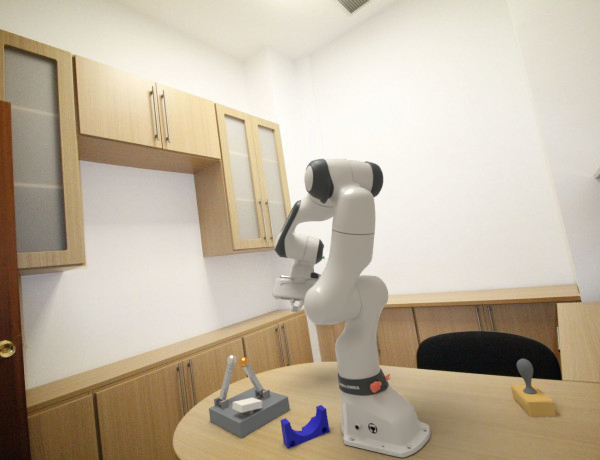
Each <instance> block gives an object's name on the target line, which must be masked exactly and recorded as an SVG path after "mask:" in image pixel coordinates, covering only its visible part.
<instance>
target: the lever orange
mask: <svg viewBox="0 0 600 460" xmlns="http://www.w3.org/2000/svg"><path fill="white" fill-rule="evenodd" d="M238 365H239V366H240V367H242V369H243V370H244V372H245V373H246V375H247V377H248V378H249V380H250V382H251V383H252V386H253V387H255V388H256V390H257V392H258V395H260V396H263V393H262V392H264V387H263V385H262V384H261V382H260V380H259V379H258V377H257V376H256V373H255V372H254V370H253V369H252V367H251V365H250V364H249V359H248V358H247V357H245V356H243V357H241V358H239V360H238Z"/></svg>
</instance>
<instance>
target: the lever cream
mask: <svg viewBox="0 0 600 460" xmlns="http://www.w3.org/2000/svg"><path fill="white" fill-rule="evenodd" d="M226 362H227V364H226V368H225V372H224V376H223V380H222V384H221V388H220V392H219V396H218V397H219V399H218V400H217V404H218V405H220V406H221V402H222V401H224V400H226V399H227V397H228V393H229V389H230V383H231V379H232V375H233V371H234V366H235V363H236V362H237V357H236V356H235V355H234V354H230V355H228V357H227V360H226Z"/></svg>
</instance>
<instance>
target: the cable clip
mask: <svg viewBox="0 0 600 460" xmlns="http://www.w3.org/2000/svg"><path fill="white" fill-rule="evenodd" d="M315 407H316V408H315V409H316V411H315V415H314V416H311V418H310V420H309V421H308V422H307V423H306V424H305V425H303V426H302V427H301V430H296V429H294V428H293V427H292V425H291V422H290V421H289V420H288V419H287V418H286V417H285V418H282V419H280V427H281V433H282V441H283V445H284V446H285V447H286V448H287V449H288V450H290V449H291V448H294V447H296V446H299V445H301V444H303V443H306V442H308V441H311V440H313V439H316V438H318V437H321V436H323V435H325V434H328V433H329V432H330V427H329V425H330V423H329V419H328V412H327V408H325V407H324V406H323V405H322V404H320V405H317V406H315Z"/></svg>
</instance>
